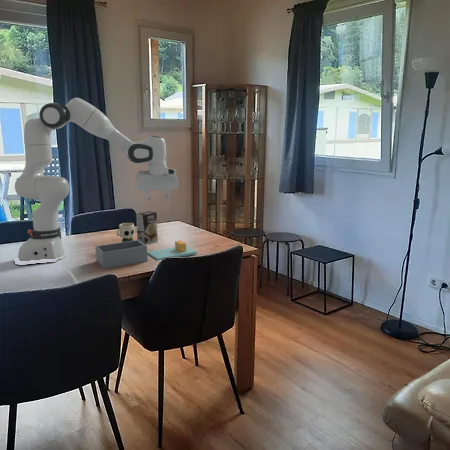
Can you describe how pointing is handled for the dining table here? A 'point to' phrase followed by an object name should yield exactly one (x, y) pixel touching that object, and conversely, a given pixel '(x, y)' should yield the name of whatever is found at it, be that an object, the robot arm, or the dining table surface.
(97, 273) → the dining table surface
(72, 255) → the dining table surface
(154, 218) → the coffee box
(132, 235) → the character mug
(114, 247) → the tub
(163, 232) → the dining table surface
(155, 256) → the lid
